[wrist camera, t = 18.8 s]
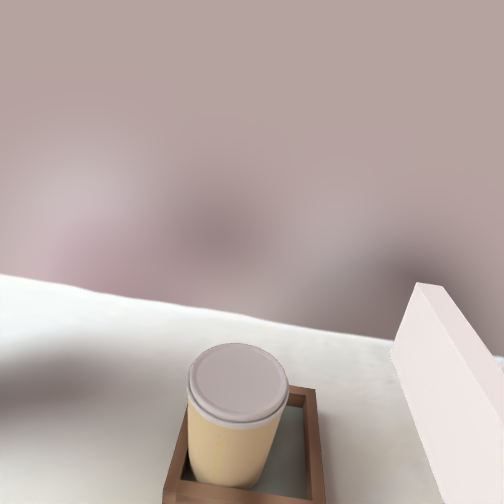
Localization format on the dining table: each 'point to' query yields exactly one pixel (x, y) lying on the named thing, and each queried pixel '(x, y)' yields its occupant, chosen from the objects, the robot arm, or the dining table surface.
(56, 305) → the dining table surface
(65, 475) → the dining table surface
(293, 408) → the wooden tray
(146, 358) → the dining table surface
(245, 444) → the coffee cup
